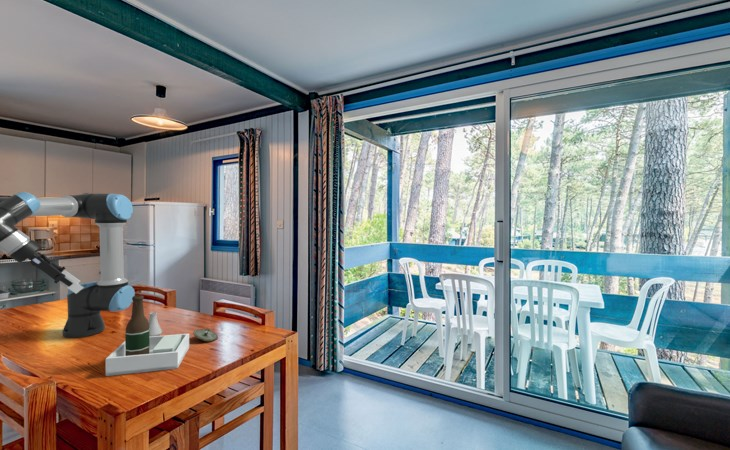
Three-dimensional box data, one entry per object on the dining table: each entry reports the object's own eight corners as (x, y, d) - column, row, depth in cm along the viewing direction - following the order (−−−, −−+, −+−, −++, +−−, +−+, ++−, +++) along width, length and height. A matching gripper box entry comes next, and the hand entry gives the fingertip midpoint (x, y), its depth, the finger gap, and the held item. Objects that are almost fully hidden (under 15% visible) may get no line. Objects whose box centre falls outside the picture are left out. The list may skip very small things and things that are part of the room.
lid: (198, 335, 154) (199, 324, 154) (221, 335, 155) (221, 324, 155) (189, 344, 143) (189, 332, 143) (213, 343, 144) (213, 332, 144)
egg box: (163, 349, 134) (163, 336, 134) (181, 348, 136) (181, 334, 136) (152, 365, 120) (152, 350, 120) (172, 363, 122) (172, 348, 122)
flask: (153, 338, 150) (153, 316, 149) (139, 336, 151) (139, 314, 151) (165, 332, 157) (165, 311, 156) (152, 331, 158) (152, 310, 158)
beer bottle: (133, 355, 129) (133, 293, 128) (154, 354, 129) (154, 293, 129) (120, 364, 121) (120, 298, 120) (142, 363, 122) (142, 298, 121)
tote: (128, 353, 133) (128, 338, 133) (189, 347, 139) (189, 333, 139) (105, 376, 114) (105, 358, 114) (177, 368, 120) (177, 352, 120)
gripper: (10, 251, 117) (66, 288, 128) (4, 259, 99) (70, 302, 110) (32, 236, 120) (85, 274, 131) (30, 241, 102) (91, 285, 113)
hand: (78, 287), depth 120 cm, fingers open, 13 cm apart
